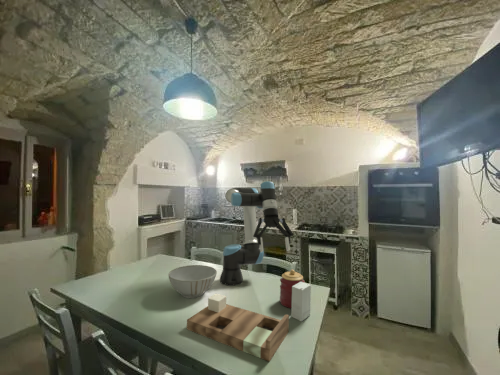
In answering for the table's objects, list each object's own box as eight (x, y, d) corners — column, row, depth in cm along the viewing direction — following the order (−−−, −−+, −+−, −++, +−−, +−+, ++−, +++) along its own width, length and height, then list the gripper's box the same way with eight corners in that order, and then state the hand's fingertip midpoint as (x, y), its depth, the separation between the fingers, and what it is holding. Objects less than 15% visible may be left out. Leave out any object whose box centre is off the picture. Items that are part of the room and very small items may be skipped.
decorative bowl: (205, 307, 118) (206, 283, 118) (157, 301, 123) (158, 278, 124) (222, 286, 144) (222, 266, 144) (182, 282, 150) (182, 263, 150)
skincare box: (300, 311, 116) (300, 280, 116) (311, 315, 112) (311, 284, 112) (290, 317, 110) (291, 285, 110) (301, 322, 106) (302, 289, 106)
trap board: (186, 329, 99) (187, 312, 99) (215, 309, 116) (215, 294, 116) (269, 361, 81) (269, 341, 81) (288, 331, 98) (288, 315, 98)
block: (207, 309, 108) (208, 298, 108) (215, 303, 113) (216, 293, 113) (218, 312, 105) (218, 301, 105) (226, 307, 110) (226, 296, 110)
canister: (285, 310, 116) (286, 274, 117) (276, 298, 129) (276, 266, 129) (309, 307, 120) (309, 272, 120) (297, 296, 132) (297, 265, 133)
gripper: (248, 206, 115) (252, 250, 106) (295, 207, 122) (302, 248, 112) (245, 211, 122) (248, 253, 113) (289, 212, 128) (295, 251, 119)
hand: (275, 251), depth 112 cm, fingers open, 13 cm apart
